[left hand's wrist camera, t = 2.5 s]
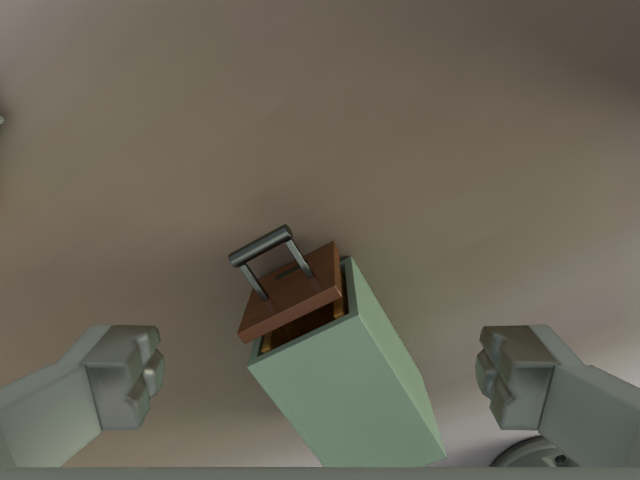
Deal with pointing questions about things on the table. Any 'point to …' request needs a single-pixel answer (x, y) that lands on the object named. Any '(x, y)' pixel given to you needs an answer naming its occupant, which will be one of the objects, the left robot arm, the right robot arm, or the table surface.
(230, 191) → the table surface
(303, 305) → the drawer
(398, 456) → the green drawer cabinet
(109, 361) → the left robot arm
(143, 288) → the table surface
